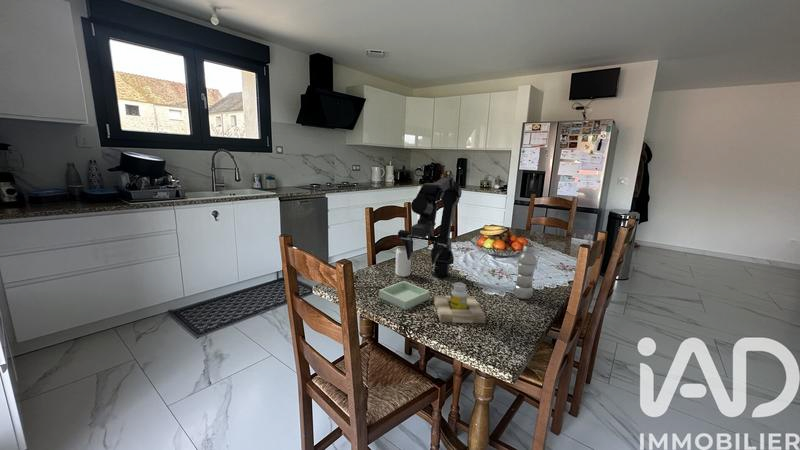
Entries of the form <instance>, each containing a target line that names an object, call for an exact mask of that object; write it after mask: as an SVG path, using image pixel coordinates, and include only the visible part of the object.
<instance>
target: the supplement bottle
mask: <svg viewBox="0 0 800 450" xmlns="http://www.w3.org/2000/svg"><path fill="white" fill-rule="evenodd" d="M466 289H467V284H466V283H464V282H461V281H459V282H458V281H457V282H454V283H453V289H452V290H450V296H451V300H450V309H459V310H466V308H467V296H469V295H468V291H467V290H466Z"/></svg>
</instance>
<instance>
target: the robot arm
mask: <svg viewBox="0 0 800 450" xmlns="http://www.w3.org/2000/svg"><path fill="white" fill-rule="evenodd" d="M460 198H462V188H461V185H460V184H459V182H456V180H455V177H451V176H443V177H440V178H439V179H438V180H436V181H434V182H431V183H430V182H428V183H427V182H425V183H423V184H422V185H421V187H420V188H419V191H418V193H417V195H416V196H415V198H414V199H412V201H411V203H410V207H411V211H412V212H413V213H415V214H416V215H419V218H418V219H417V222H416V223H415V224H413V225H412V226H411V230H406V229H405V230H404V229H399V230H398V232H397V237H396V238H400V241H402V242H403V244H404V246H405V247H406V253H407V259H408V260H410V257H411V258H412V251H413V245H414V240H413V239H416V240H420V241H421V240H422V241H426V242H427V241H428V242H433V243H432V244H433V245H432V248H431V252H430V258H431V264H432V265H434V268H433V269H434V271H433V272H432V273H431V275H432V276H433V277H437V278H440V279H442V280H443V279H446V278H449V277H451V276H452V274H451V273H450V272H449V271H450V265H451V266H452V265H453V264H454V262H455V261H454V259H455V257H454V254H453V250H452V249H453V246H452V242H453V240H452V238H451V237H450V236H451V231H452V225H453V218H454V217H453V216H454V213H455V207H456V206H457V205H458V203H459V202H460V200H461V199H460ZM440 201H441V202H442V205H443V207H442V213H441V214H442V215H441V221H440V225H439V227H440V228H439V233H438V235H437V236H434V235H435V234H434V232H435V231H434V230H435V227H436V224H437V223H436V220H437V213H438V209H439V206H438V205H439V204H437V203H438V202H440Z"/></svg>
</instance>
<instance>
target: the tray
mask: <svg viewBox="0 0 800 450" xmlns="http://www.w3.org/2000/svg"><path fill="white" fill-rule="evenodd" d="M430 295H431V291H430V290H427V289H425V288H423V287H420V286H418V285H415V284H413V283H411V282H408V281H406V280H403V281H400V282H397V283H394V284H391V285H389V286H386V287H383V288H381V289H379V290H378V298H379V299H381V300H383V301H384V302H387V303H388V304H390V305H393V306H394V307H397V308H398V309H401V310H402V311H403V310H404V311H407V310H409V309H411V308H413V307H416V306H417V305H420V304H422V303H424V302H426V301H429V300H430V297H431V296H430Z"/></svg>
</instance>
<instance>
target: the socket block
mask: <svg viewBox="0 0 800 450" xmlns="http://www.w3.org/2000/svg"><path fill="white" fill-rule="evenodd" d="M433 297H434V298H433V303H434V306H435V310H436V312H437V315H438V319H439V322H440V323H451V324H452V323H453V324H454V323H456V324H457V323H459V324H460V323H461V324H462V323H465V324H466V323H468V324H469V323H470V324H485V322H486V314H485V313H484V310H483V309H482V307H481V306H480V304H479V302H478V301H477V300H476V297H475V296H473V295H471V296H470V295H468V296H467V308H466V310H459V309H450V300H451V295H434V296H433Z"/></svg>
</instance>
